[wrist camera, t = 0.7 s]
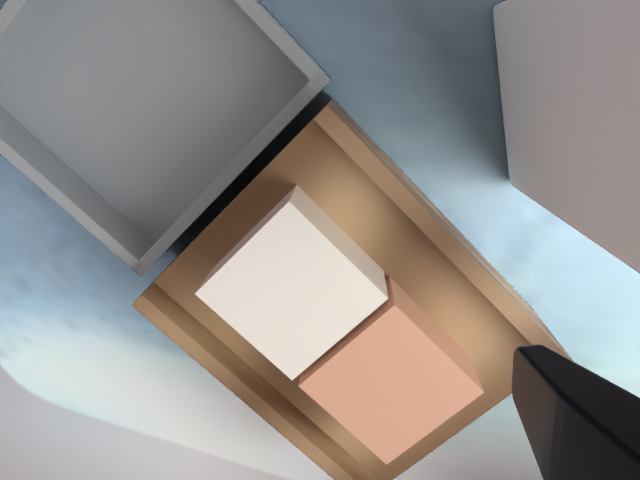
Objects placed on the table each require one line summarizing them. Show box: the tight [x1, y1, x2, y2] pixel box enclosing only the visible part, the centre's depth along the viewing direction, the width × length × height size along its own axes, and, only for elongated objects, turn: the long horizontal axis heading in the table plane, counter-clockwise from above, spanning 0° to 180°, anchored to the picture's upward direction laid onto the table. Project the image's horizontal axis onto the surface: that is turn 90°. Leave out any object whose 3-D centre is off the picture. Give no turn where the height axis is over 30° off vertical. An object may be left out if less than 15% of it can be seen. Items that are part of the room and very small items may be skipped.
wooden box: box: [132, 98, 574, 480], centre depth 21 cm, size 13×10×5 cm
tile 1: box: [195, 185, 388, 380], centre depth 18 cm, size 4×4×2 cm
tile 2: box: [298, 276, 484, 465], centre depth 19 cm, size 4×4×2 cm
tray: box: [0, 0, 332, 276], centre depth 20 cm, size 10×11×2 cm
